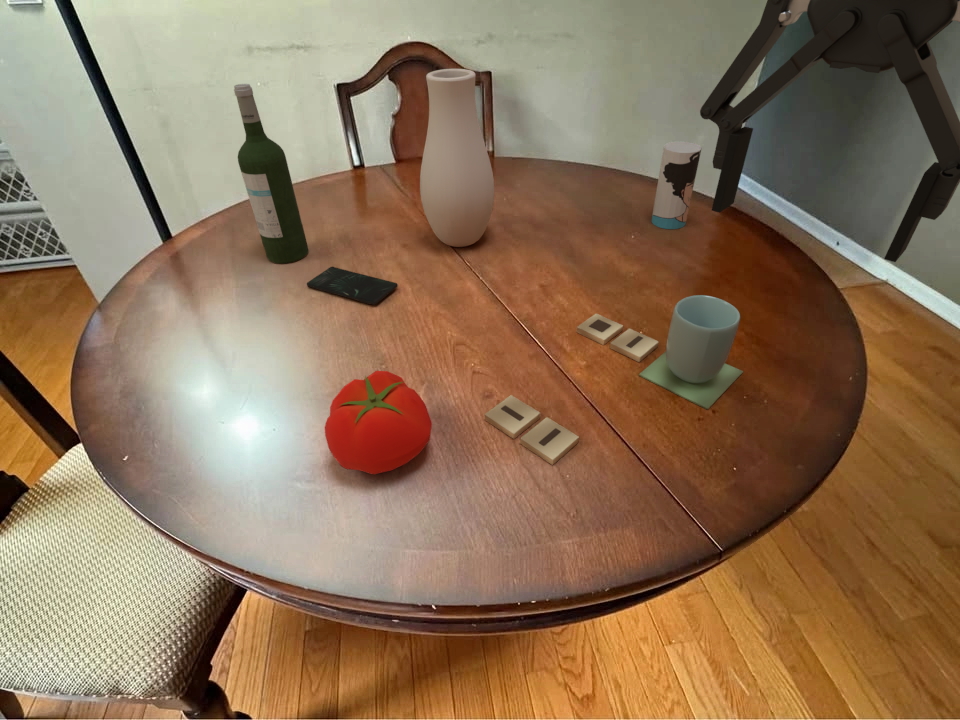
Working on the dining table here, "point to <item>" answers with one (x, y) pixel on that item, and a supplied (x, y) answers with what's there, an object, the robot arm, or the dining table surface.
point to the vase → (455, 161)
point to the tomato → (377, 424)
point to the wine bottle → (269, 186)
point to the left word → (542, 438)
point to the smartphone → (352, 285)
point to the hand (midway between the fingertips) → (801, 229)
